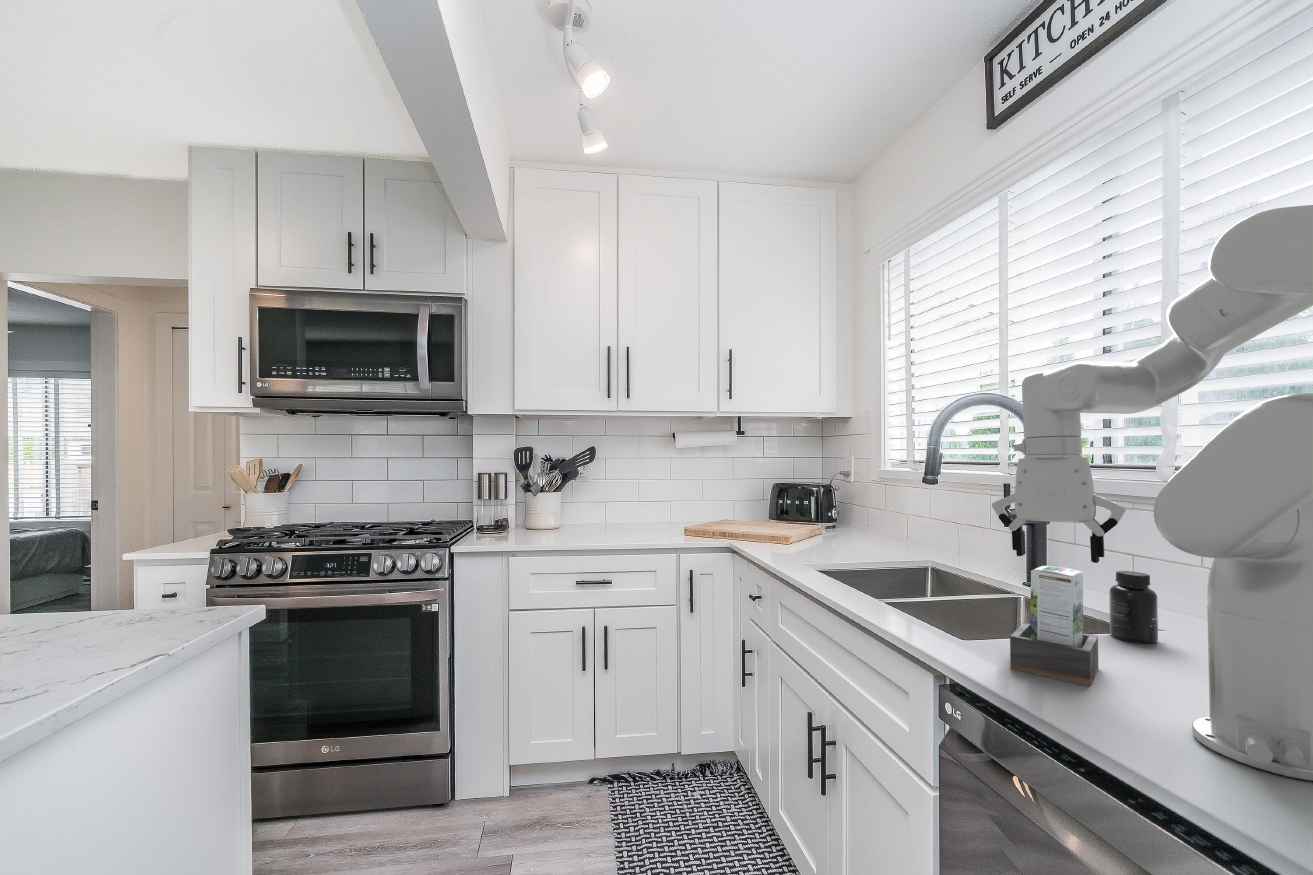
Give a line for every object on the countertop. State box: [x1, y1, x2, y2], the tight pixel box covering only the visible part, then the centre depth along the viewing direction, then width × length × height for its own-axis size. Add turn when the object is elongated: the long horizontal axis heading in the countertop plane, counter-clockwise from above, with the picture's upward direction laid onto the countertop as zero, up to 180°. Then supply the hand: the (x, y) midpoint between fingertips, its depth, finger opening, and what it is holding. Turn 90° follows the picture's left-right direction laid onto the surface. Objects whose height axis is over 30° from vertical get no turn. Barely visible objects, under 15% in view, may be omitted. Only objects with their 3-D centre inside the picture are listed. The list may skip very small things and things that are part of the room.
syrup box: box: [1029, 565, 1084, 648], centre depth 89 cm, size 6×6×14 cm
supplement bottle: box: [1108, 570, 1159, 645], centre depth 104 cm, size 7×7×12 cm
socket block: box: [1009, 622, 1099, 687], centre depth 89 cm, size 10×10×5 cm
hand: (1056, 558), depth 89 cm, fingers open, 9 cm apart
